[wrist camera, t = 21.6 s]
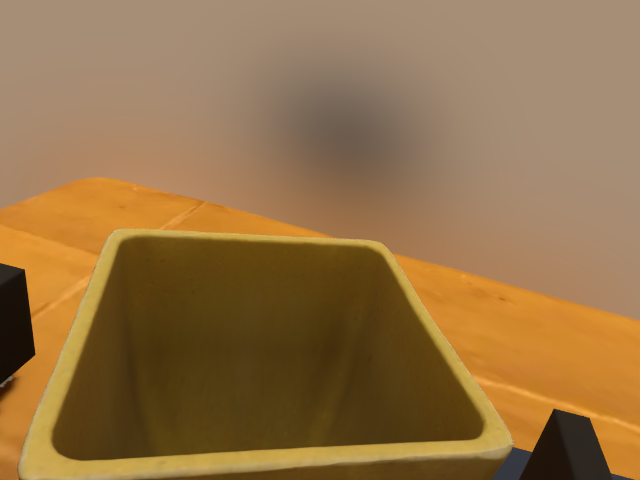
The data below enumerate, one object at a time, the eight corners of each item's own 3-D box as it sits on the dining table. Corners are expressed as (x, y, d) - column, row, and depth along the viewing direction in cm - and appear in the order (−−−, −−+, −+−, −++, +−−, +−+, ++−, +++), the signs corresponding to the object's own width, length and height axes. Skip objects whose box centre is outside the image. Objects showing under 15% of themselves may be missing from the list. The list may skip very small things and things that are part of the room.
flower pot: (118, 435, 19) (110, 221, 15) (339, 426, 21) (385, 236, 17) (54, 750, 11) (2, 483, 7) (413, 686, 13) (528, 452, 9)
